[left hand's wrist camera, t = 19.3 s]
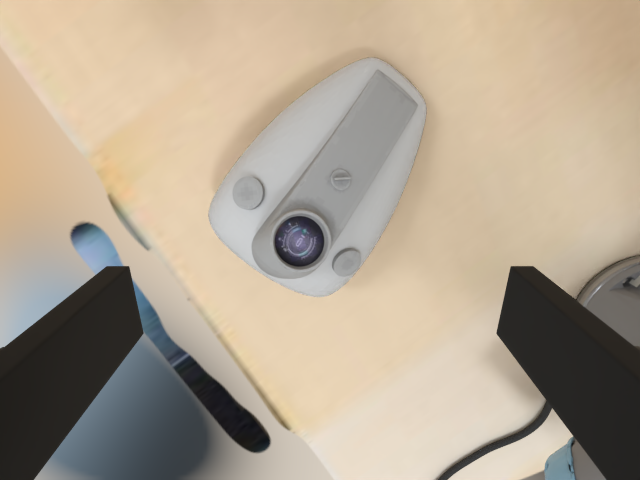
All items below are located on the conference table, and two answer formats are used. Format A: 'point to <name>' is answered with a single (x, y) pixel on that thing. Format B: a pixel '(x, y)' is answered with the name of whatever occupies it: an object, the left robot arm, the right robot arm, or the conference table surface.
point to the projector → (323, 179)
